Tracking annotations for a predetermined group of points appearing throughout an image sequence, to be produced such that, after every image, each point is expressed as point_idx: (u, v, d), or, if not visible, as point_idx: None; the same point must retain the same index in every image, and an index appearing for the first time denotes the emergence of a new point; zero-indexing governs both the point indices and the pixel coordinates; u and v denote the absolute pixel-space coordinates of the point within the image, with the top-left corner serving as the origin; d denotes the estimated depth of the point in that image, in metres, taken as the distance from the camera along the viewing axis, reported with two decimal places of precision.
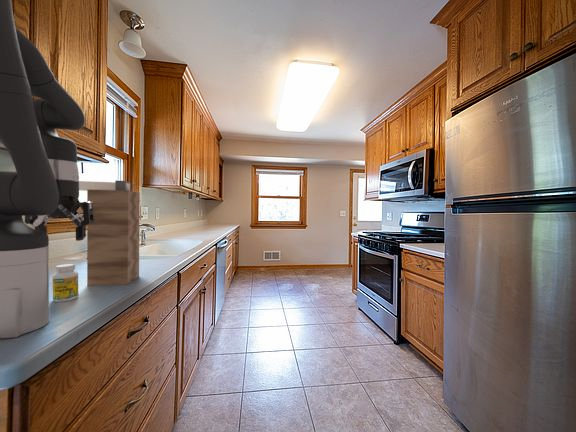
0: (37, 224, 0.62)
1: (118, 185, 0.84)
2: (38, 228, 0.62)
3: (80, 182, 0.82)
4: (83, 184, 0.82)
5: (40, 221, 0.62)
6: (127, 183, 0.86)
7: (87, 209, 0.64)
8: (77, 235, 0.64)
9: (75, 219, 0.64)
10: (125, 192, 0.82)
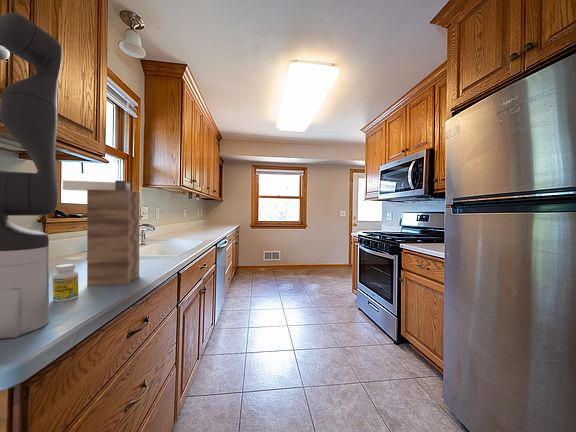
0: None
1: (118, 185, 0.84)
2: None
3: (80, 182, 0.82)
4: (83, 184, 0.82)
5: None
6: (127, 183, 0.86)
7: None
8: None
9: None
10: (125, 192, 0.82)
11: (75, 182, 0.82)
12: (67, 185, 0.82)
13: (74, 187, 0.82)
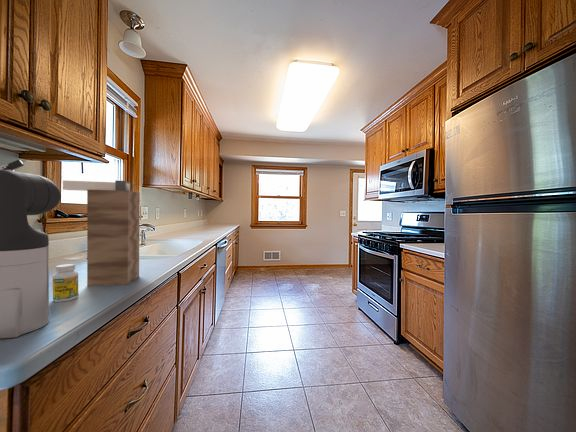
0: None
1: (118, 185, 0.84)
2: None
3: (80, 182, 0.82)
4: (83, 184, 0.82)
5: None
6: (127, 183, 0.86)
7: None
8: None
9: None
10: (125, 192, 0.82)
11: (75, 182, 0.82)
12: (67, 185, 0.82)
13: (74, 187, 0.82)
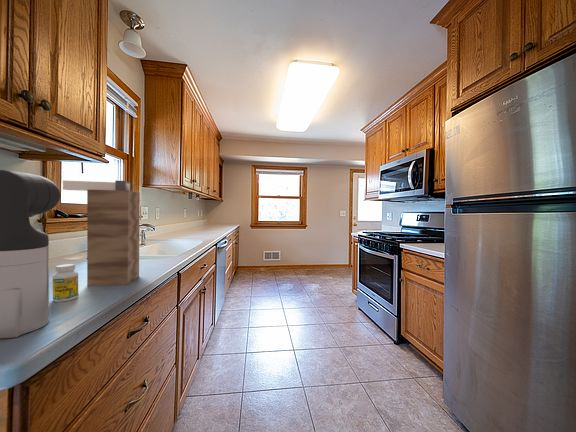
0: None
1: (118, 185, 0.84)
2: None
3: (80, 182, 0.82)
4: (83, 184, 0.82)
5: None
6: (127, 183, 0.86)
7: None
8: None
9: None
10: (125, 192, 0.82)
11: (75, 182, 0.82)
12: (67, 185, 0.82)
13: (74, 187, 0.82)
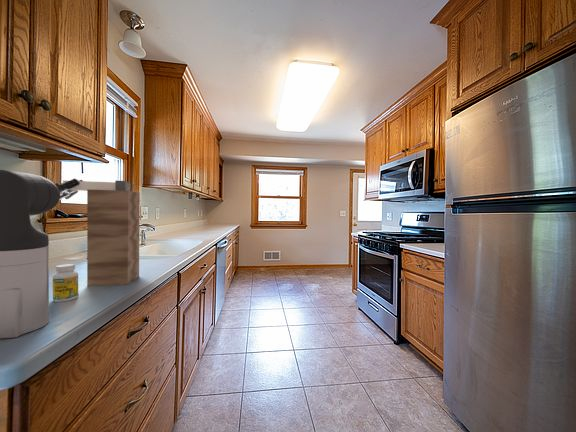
0: None
1: (118, 185, 0.84)
2: None
3: (80, 182, 0.82)
4: (83, 184, 0.82)
5: None
6: (127, 183, 0.86)
7: None
8: None
9: None
10: (125, 192, 0.82)
11: None
12: None
13: (74, 187, 0.82)
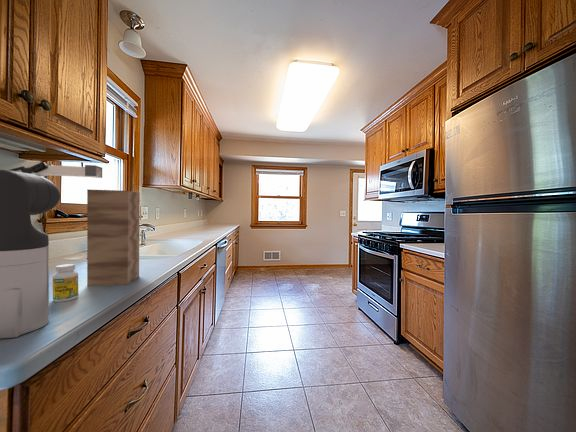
0: None
1: (88, 169, 0.82)
2: None
3: (48, 166, 0.80)
4: (51, 168, 0.80)
5: None
6: (98, 168, 0.84)
7: None
8: None
9: None
10: (125, 192, 0.82)
11: None
12: None
13: (42, 171, 0.80)
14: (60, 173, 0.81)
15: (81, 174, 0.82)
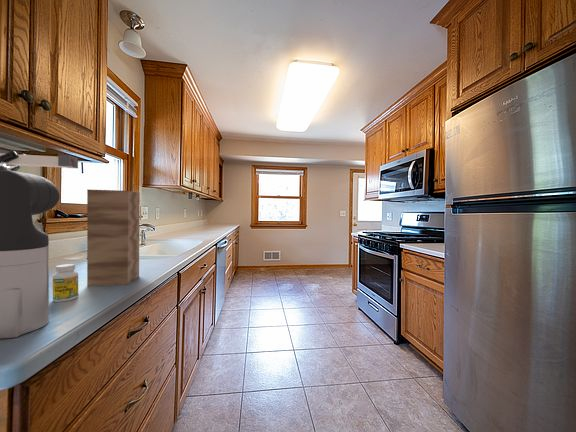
0: None
1: (61, 159, 0.78)
2: None
3: (18, 155, 0.76)
4: (22, 158, 0.76)
5: None
6: (73, 158, 0.80)
7: None
8: None
9: None
10: (125, 192, 0.82)
11: None
12: None
13: (12, 161, 0.76)
14: (32, 163, 0.77)
15: (54, 164, 0.78)
